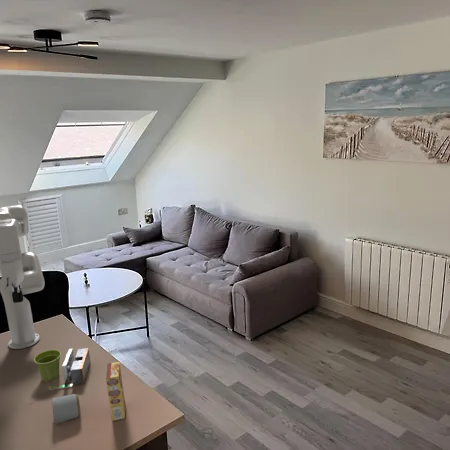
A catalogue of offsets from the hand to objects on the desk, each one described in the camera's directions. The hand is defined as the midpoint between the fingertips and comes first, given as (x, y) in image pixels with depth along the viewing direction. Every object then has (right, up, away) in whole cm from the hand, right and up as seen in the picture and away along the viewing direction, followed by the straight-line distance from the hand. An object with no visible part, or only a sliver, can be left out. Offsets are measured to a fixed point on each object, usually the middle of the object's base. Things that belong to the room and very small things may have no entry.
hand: (18, 301), depth 159 cm
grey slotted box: (+21, -27, -2) cm, 34 cm away
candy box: (+45, -32, -24) cm, 60 cm away
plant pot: (+14, -28, -3) cm, 31 cm away
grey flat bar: (+22, -27, -3) cm, 35 cm away
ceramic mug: (+28, -33, -25) cm, 50 cm away
